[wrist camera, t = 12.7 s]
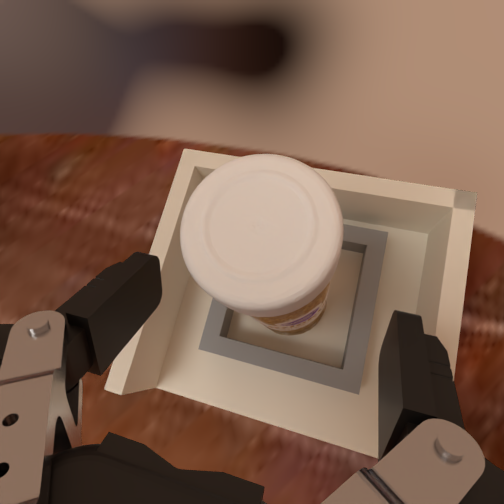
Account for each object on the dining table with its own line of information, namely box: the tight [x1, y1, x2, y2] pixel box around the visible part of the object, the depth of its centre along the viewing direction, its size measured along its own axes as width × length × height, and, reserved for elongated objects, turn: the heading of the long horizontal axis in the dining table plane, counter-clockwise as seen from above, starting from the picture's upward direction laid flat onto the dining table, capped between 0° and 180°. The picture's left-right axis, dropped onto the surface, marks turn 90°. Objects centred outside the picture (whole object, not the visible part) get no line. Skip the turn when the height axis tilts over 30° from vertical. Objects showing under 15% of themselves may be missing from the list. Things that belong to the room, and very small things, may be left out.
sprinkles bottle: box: [180, 154, 344, 336], centre depth 16 cm, size 5×5×13 cm
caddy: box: [104, 149, 477, 458], centre depth 21 cm, size 16×14×5 cm
